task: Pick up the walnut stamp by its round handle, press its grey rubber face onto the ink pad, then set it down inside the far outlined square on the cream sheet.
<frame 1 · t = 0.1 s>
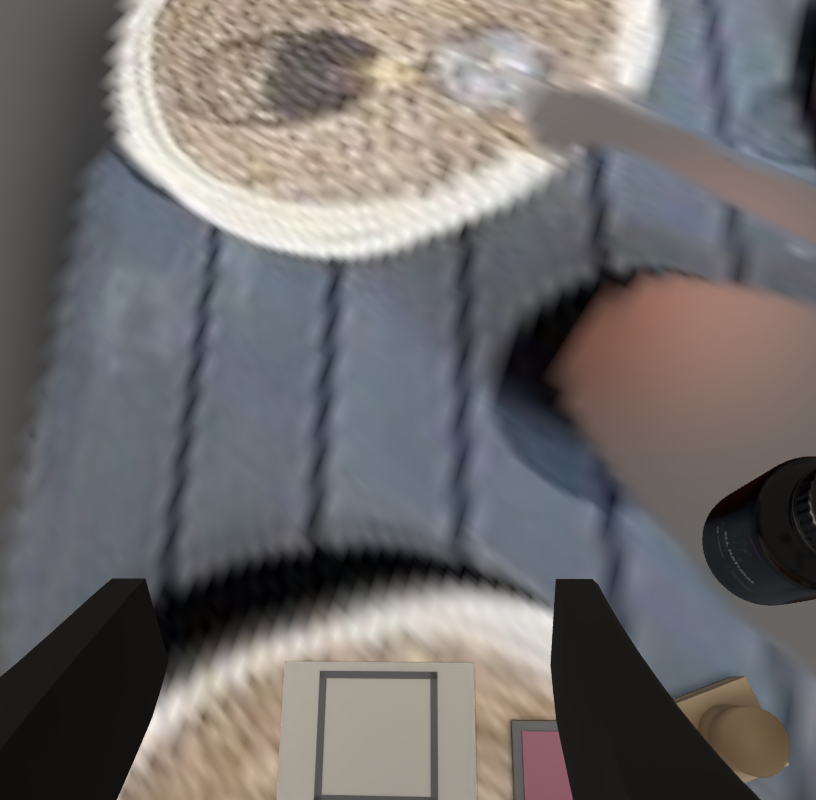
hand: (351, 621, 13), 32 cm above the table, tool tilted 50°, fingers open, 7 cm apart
oak stamp: (712, 732, 41), on the table
supplement bottle: (757, 549, 44), on the table
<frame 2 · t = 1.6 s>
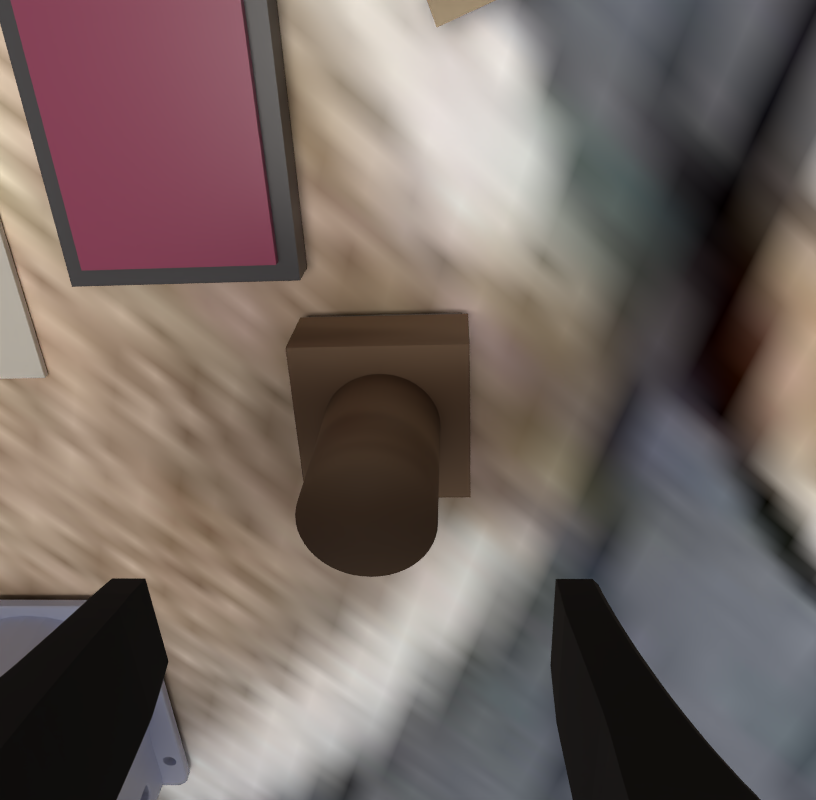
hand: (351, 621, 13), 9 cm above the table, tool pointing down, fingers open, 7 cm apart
ink pad: (162, 90, 18), on the table
walnut stamp: (389, 382, 21), on the table
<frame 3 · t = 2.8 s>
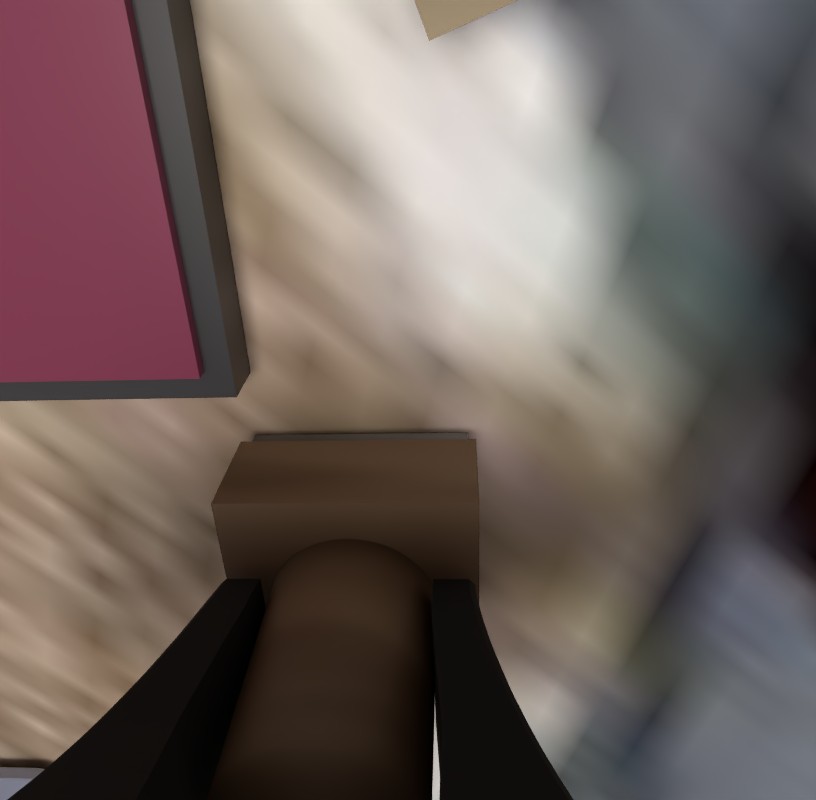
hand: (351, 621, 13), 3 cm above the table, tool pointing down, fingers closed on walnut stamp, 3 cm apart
ink pad: (30, 129, 12), on the table
walnut stamp: (368, 519, 16), on the table, touching gripper
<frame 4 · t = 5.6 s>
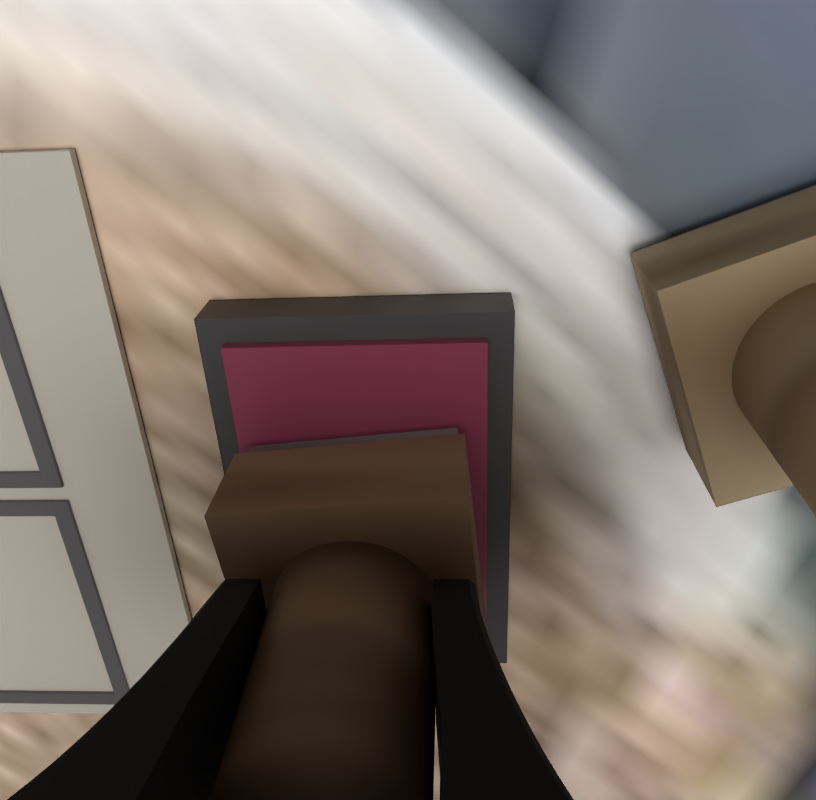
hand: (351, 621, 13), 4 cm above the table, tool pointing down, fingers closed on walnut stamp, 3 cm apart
ink pad: (373, 485, 17), on the table
oak stamp: (769, 308, 14), on the table
walnut stamp: (369, 521, 16), point 1 cm above the table, touching gripper, ink pad
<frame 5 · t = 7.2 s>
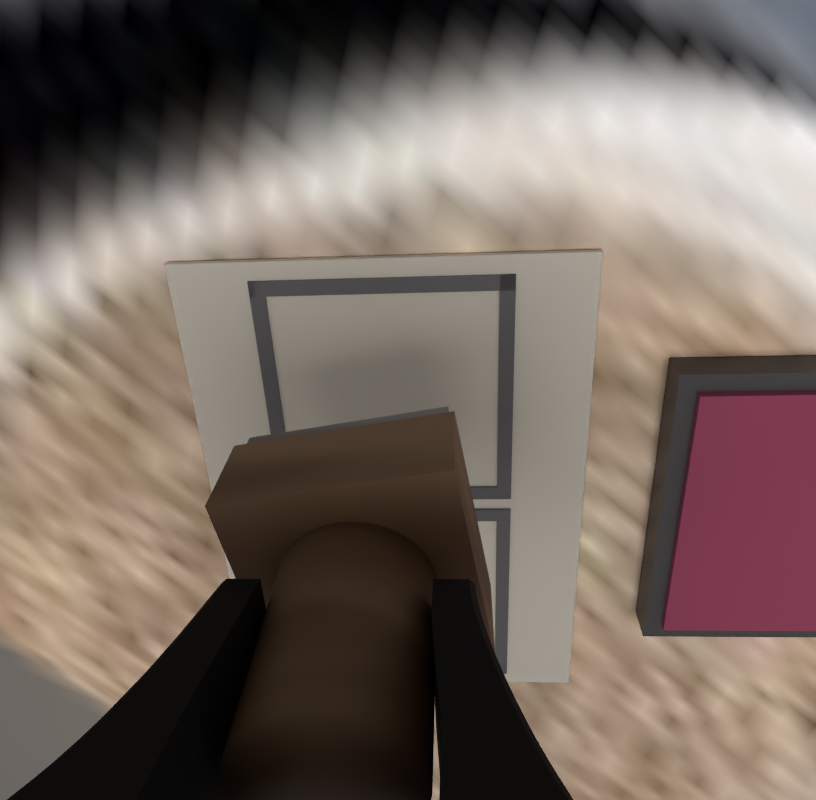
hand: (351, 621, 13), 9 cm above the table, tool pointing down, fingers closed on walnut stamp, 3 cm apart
ink pad: (756, 497, 21), on the table
sheet: (395, 499, 22), on the table
walnut stamp: (370, 504, 16), point 5 cm above the table, touching gripper
when the fingers open (3 cm above the table, at t = 8.3 s): walnut stamp stays where it is, resting on sheet.
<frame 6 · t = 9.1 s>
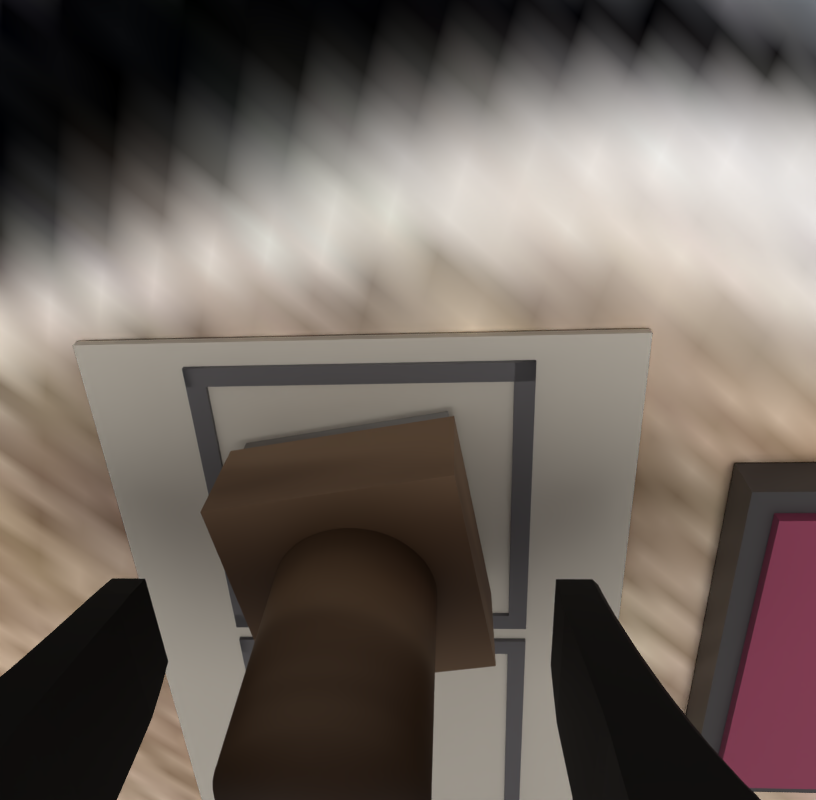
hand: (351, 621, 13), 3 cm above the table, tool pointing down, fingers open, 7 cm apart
sheet: (380, 625, 18), on the table
walnut stamp: (369, 510, 16), resting on sheet
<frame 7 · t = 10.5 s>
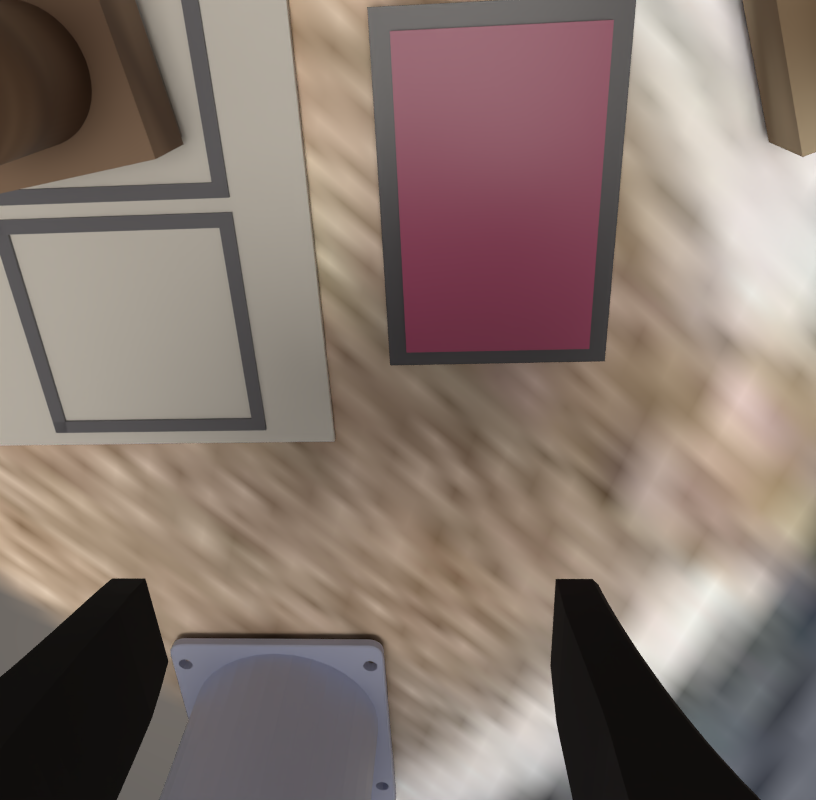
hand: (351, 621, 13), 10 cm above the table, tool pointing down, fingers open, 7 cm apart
ink pad: (496, 193, 20), on the table
sheet: (111, 206, 20), on the table
walnut stamp: (74, 67, 18), resting on sheet
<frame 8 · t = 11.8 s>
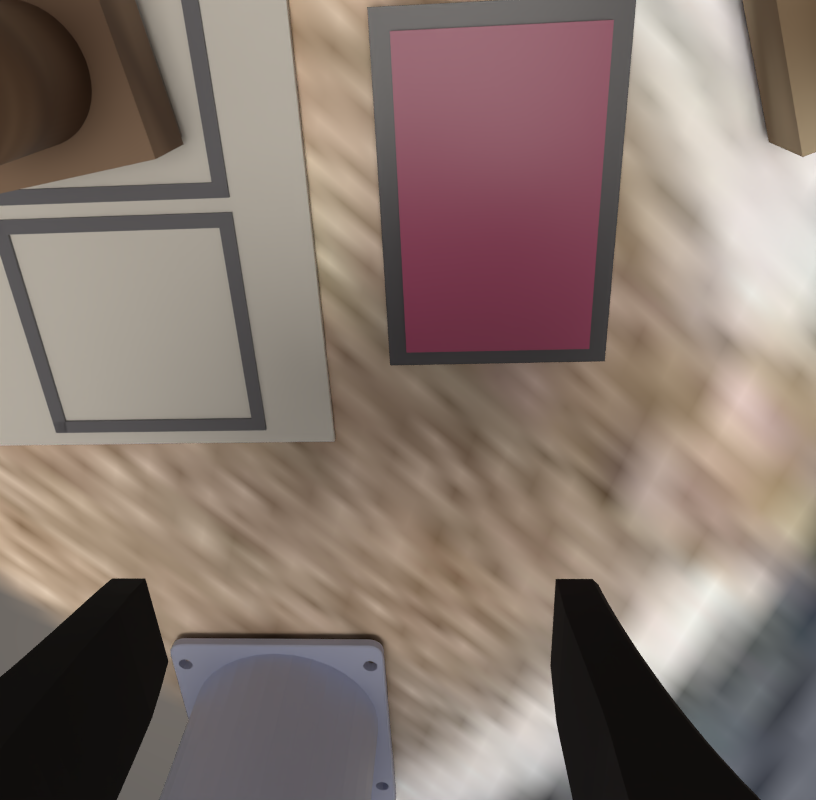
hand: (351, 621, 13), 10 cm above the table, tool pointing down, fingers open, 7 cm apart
ink pad: (496, 193, 20), on the table
sheet: (111, 206, 20), on the table
walnut stamp: (74, 67, 18), resting on sheet
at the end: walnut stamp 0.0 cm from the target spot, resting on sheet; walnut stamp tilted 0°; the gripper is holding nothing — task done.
